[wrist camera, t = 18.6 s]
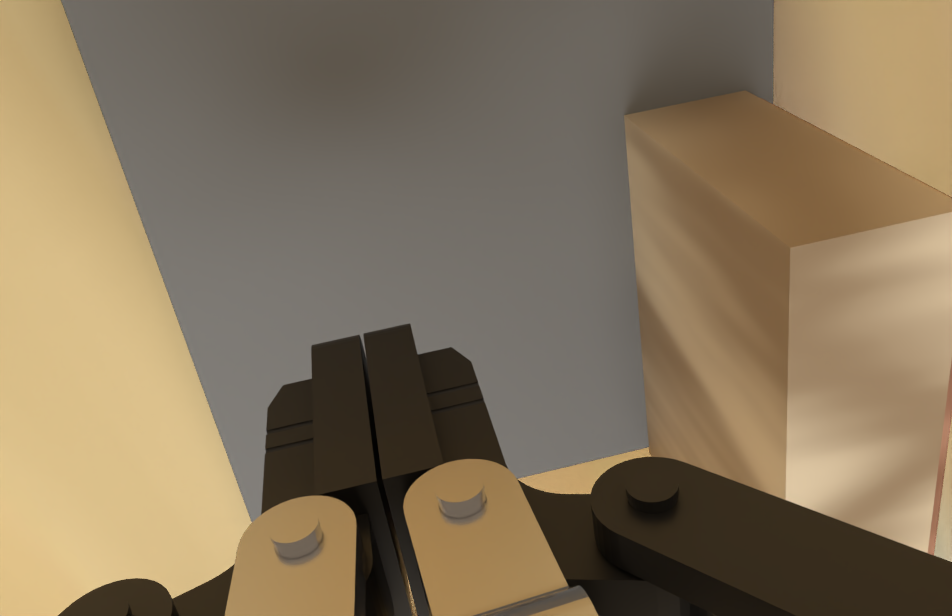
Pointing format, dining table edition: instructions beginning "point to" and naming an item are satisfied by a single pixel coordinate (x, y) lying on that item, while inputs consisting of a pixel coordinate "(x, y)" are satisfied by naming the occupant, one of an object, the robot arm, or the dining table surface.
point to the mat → (408, 189)
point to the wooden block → (793, 312)
